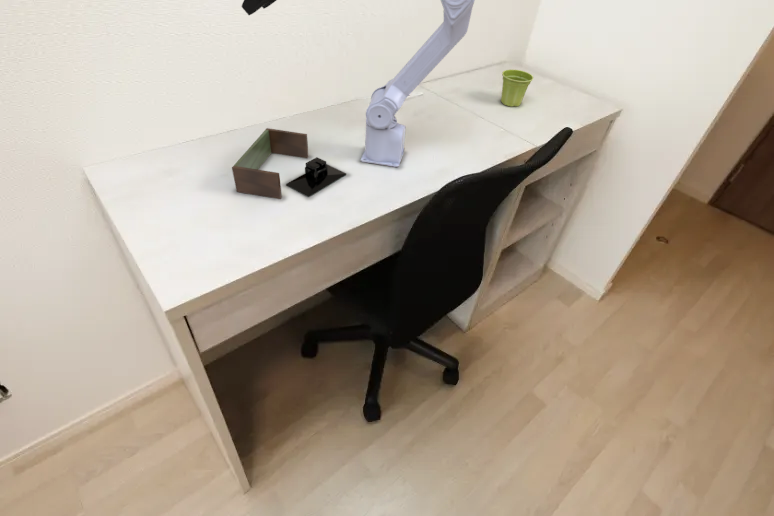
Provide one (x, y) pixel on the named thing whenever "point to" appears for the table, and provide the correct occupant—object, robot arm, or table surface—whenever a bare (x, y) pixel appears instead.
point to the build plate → (315, 177)
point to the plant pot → (514, 86)
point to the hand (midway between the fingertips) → (253, 7)
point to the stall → (255, 156)
